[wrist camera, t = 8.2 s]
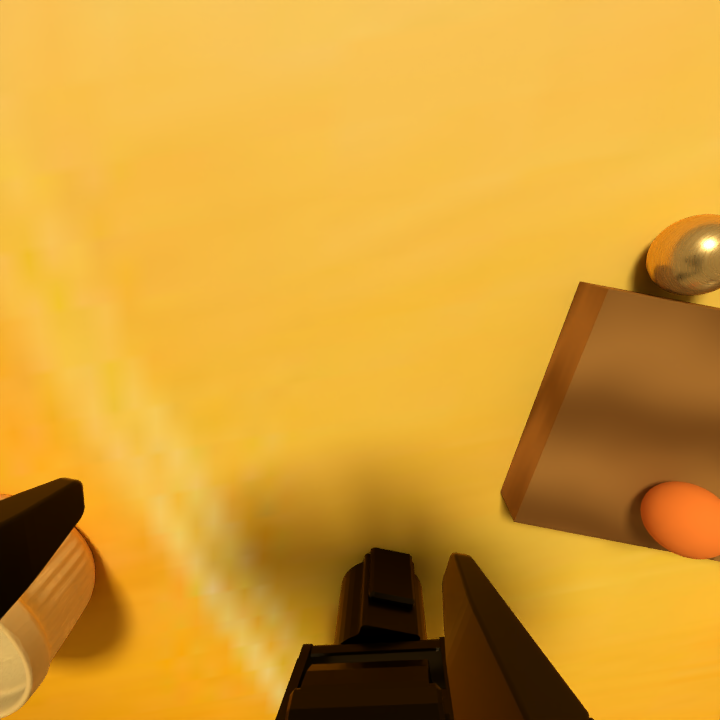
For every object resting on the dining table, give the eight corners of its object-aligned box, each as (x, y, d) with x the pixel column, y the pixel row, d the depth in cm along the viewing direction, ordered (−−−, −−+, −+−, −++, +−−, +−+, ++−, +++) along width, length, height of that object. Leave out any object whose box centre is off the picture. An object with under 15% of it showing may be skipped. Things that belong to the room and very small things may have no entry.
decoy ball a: (685, 295, 18) (748, 308, 15) (617, 282, 18) (667, 293, 15) (719, 223, 17) (796, 221, 14) (648, 209, 17) (708, 204, 14)
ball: (672, 455, 18) (720, 490, 19) (612, 492, 20) (658, 523, 20) (720, 512, 15) (776, 551, 16) (645, 550, 17) (698, 585, 17)
